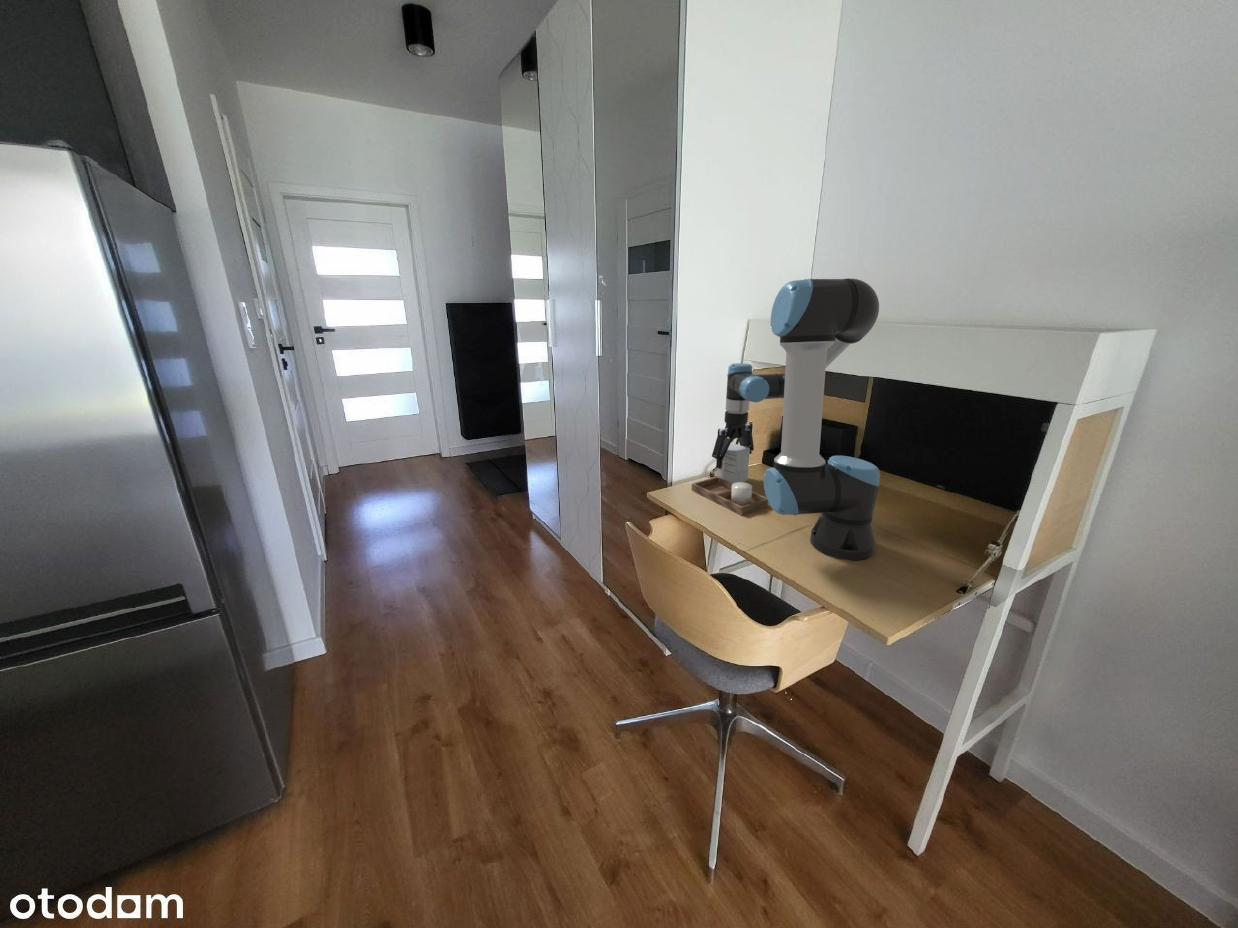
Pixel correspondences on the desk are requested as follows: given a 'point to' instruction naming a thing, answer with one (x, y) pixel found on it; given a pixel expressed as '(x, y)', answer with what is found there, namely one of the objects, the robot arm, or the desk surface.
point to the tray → (727, 495)
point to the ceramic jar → (741, 493)
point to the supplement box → (736, 463)
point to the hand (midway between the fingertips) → (731, 473)
